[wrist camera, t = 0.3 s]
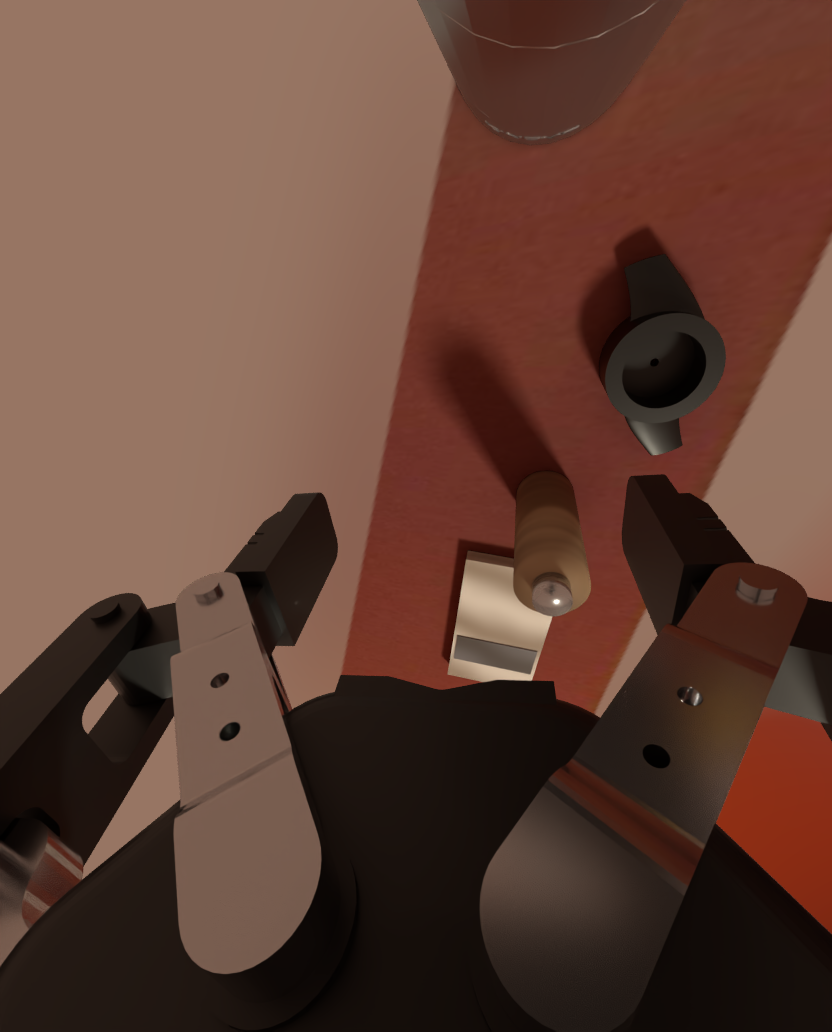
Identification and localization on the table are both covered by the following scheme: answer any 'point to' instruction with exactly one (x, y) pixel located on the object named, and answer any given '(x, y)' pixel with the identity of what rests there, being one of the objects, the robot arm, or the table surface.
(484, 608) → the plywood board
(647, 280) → the black winged cup
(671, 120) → the table surface
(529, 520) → the wooden pepper mill
